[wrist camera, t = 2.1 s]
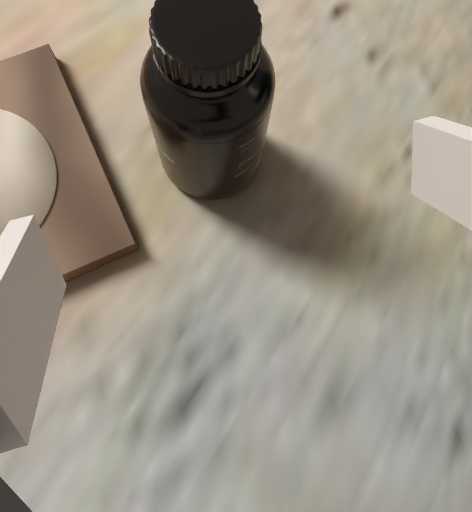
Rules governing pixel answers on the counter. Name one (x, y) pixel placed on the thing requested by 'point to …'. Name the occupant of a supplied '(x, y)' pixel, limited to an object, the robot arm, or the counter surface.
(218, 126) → the supplement bottle
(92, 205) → the walnut board
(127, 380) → the counter surface
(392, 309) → the counter surface
